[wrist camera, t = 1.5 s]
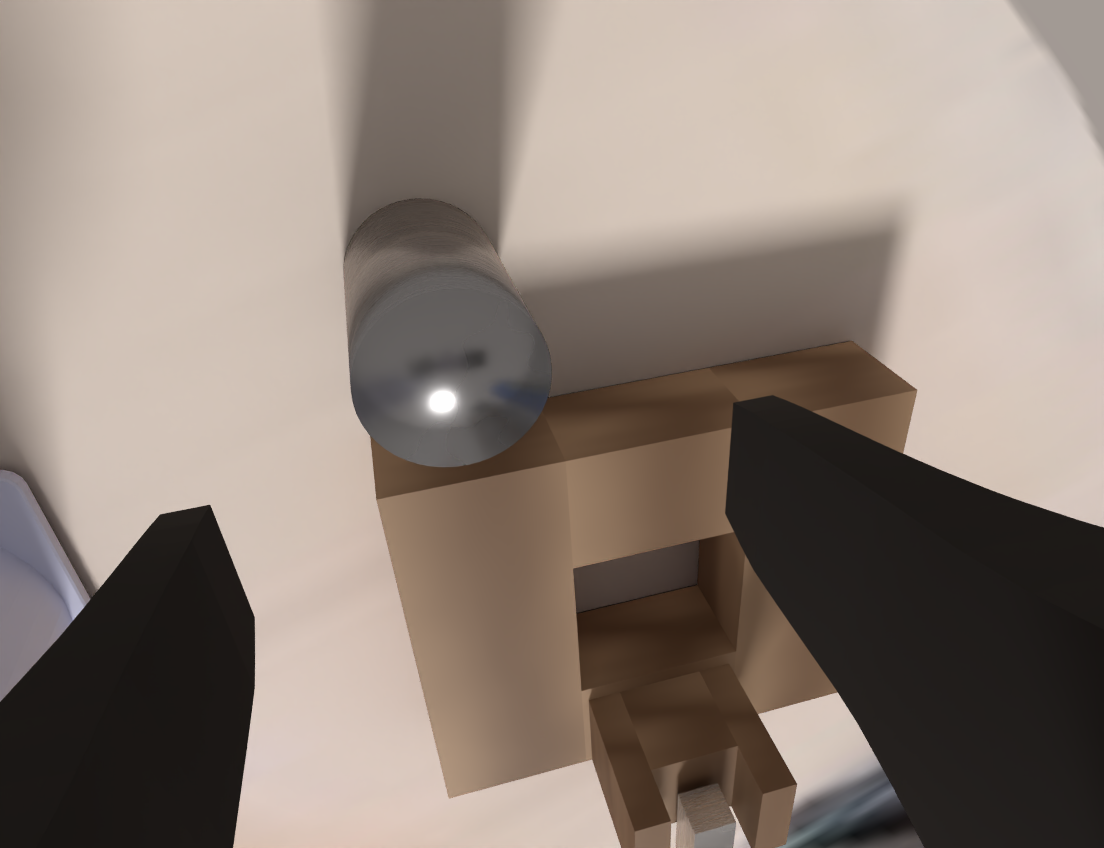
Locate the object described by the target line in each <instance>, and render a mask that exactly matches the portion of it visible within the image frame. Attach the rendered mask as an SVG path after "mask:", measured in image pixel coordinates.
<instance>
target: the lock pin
mask: <svg viewBox="0 0 1104 848" xmlns="http://www.w3.org/2000/svg"><path fill="white" fill-rule="evenodd" d="M735 827H736V821H735V819H734V817H733V815H732V812H731V810H730V808H729V806H728V804H727V802H726V800H725V798H724V795H723V793H722V791H721V789H720V787H719V785H718V783H714V784H711V785H707V786H704V787H700V788H697V789H694V790H690V791H687V792H683V793H680V794H678V804H677V828H676V848H733V844H734V836H735Z"/></svg>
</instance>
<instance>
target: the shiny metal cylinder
mask: <svg viewBox="0 0 1104 848" xmlns="http://www.w3.org/2000/svg"><path fill="white" fill-rule="evenodd" d="M344 289H345V305H346V321H347V337H348V352H349V368H350V384H351V394H352V400H353V404H354V407H355V411H356V414H357V416H358V418H359V420H360V422H361V424H362V425H363V426H364V428H365V429H366V431H367V432H368V434H369V435H370V436H371V437H372V438H373V439H374V440H375V441H376V442H377V443H378V444H380V445H381V446H382V447H383V448H385V449H386V450H387V451H389V452H391V453H392V454H394V455H396V456H398V457H400V458H402V459H404V460H407V461H410V462H413V463H416V464H420V465H426V466H432V467H457V466H464V465H469V464H473V463H477V462H480V461H483V460H486V459H489V458H491V457H493V456H495V455H497V454H499V453H501V452H503V451H504V450H506V449H507V448H509V447H511V446H512V445H513V444H514V443H516V442H517V441H518V440H519V439H521V438H522V437H523V436H524V435H525V434H526V433H527V432H528V431H529V430H530V428H531V427H532V426H533V424H534V423H535V422H536V420H537V419H538V417H539V415H540V414H541V412H542V410H543V408H544V406H545V403H546V401H547V398H548V395H549V391H550V386H551V379H552V365H551V358H550V354H549V350H548V347H547V344H546V342H545V340H544V338H543V336H542V333H541V332H540V330H539V328H538V326H537V325H536V323H535V321H534V319H533V317H532V316H531V314H530V312H529V310H528V308H527V307H526V305H525V303H524V301H523V300H522V298H521V296H520V294H519V292H518V291H517V289H516V287H515V285H514V283H513V282H512V280H511V278H510V276H509V274H508V273H507V271H506V269H505V267H504V266H503V264H502V262H501V260H500V258H499V257H498V255H497V253H496V251H495V249H494V248H493V246H492V244H491V242H490V241H489V239H488V237H487V235H486V234H485V232H484V231H483V229H482V228H481V227H480V226H479V225H478V223H477V222H476V221H475V220H474V219H472V218H471V217H470V216H469V215H468V214H466V213H465V212H463V211H462V210H460V209H459V208H456V207H454V206H452V205H450V204H447V203H444V202H441V201H437V200H431V199H409V200H404V201H399V202H396V203H393V204H390V205H388V206H386V207H384V208H382V209H380V210H378V211H377V212H376V213H374V214H373V215H371V216H370V217H369V218H368V219H367V220H366V221H365V222H363V224H362V225H361V226H360V227H359V228H358V230H357V231H356V233H355V234H354V236H353V237H352V239H351V241H350V244H349V246H348V248H347V252H346V255H345V260H344Z"/></svg>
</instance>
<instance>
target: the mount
mask: <svg viewBox="0 0 1104 848" xmlns="http://www.w3.org/2000/svg"><path fill="white" fill-rule="evenodd" d="M916 393H917V389H915V388H914V387H913V386H911V385H910V384H909V383H907V382H906V381H905V380H903V379H902V378H901V377H899V376H898V375H897V374H895V373H894V372H893V371H891V370H890V369H889V368H887V367H886V366H885V365H883V364H882V363H881V362H879V361H878V360H877V359H875V358H874V357H873V356H871V355H870V354H869V353H867V352H866V351H865V350H863V349H862V348H861V347H859V346H858V345H857V344H855V343H854V342H853V341H849V342H844V343H838V344H833V345H828V346H822V347H817V348H812V349H806V350H801V351H796V352H790V353H785V354H780V355H774V356H769V357H764V358H758V359H753V360H748V361H742V362H737V363H732V364H726V365H721V366H716V367H710V368H705V369H700V370H694V371H689V372H684V373H678V374H673V375H668V376H662V377H657V378H651V379H646V380H641V381H635V382H630V383H625V384H619V385H614V386H609V387H603V388H598V389H593V390H587V391H582V392H577V393H571V394H566V395H561V396H555V397H550V398H547V401H546V403H545V406H544V408H543V410H542V412H541V414H540V415H539V417H538V419H537V420H536V422H535V423H534V424H533V426H532V427H531V428H530V430H529V431H528V432H527V433H526V434H525V435H524V436H523V437H522V438H521V439H519V440H518V441H517V442H516V443H514V444H513V445H512V446H511V447H509V448H507V449H506V450H504V451H503V452H501V453H499V454H497V455H495V456H493V457H491V458H489V459H486V460H483V461H480V462H477V463H473V464H469V465H464V466H457V467H432V466H426V465H420V464H416V463H413V462H410V461H407V460H404V459H402V458H400V457H398V456H396V455H394V454H392V453H391V452H389V451H387V450H386V449H385V448H383V447H382V446H381V445H380V444H378V443H377V442H376V441H375V440H374V439H373V438H372V437H371V436H370V437H371V448H372V458H373V469H374V479H375V489H376V500H377V504H378V508H379V512H380V516H381V520H382V524H383V529H384V533H385V537H386V541H387V545H388V549H389V553H390V557H391V562H392V566H393V570H394V574H395V578H396V582H397V586H398V590H399V595H400V599H401V603H402V607H403V611H404V615H405V619H406V623H407V628H408V632H409V636H410V640H411V644H412V648H413V652H414V656H415V661H416V665H417V669H418V673H419V677H420V681H421V685H422V689H423V694H424V698H425V702H426V706H427V710H428V714H429V718H430V722H431V727H432V731H433V735H434V739H435V743H436V747H437V751H438V755H439V760H440V764H441V768H442V772H443V776H444V780H445V784H446V788H447V793H448V797H449V798H453V797H456V796H460V795H464V794H467V793H471V792H475V791H478V790H482V789H486V788H489V787H493V786H497V785H500V784H504V783H507V782H511V781H515V780H518V779H522V778H526V777H529V776H533V775H537V774H540V773H544V772H548V771H551V770H555V769H559V768H562V767H566V766H570V765H573V764H577V763H581V762H584V761H588V760H593V763H594V766H595V769H596V772H597V775H598V778H599V781H600V784H601V787H602V790H603V794H604V797H605V800H606V803H607V806H608V809H609V812H610V815H611V818H612V821H613V824H614V827H615V830H616V833H617V836H618V839H619V842H620V845H621V848H670V839H671V823H675V822H677V804H678V794H680V793H683V792H687V791H690V790H694V789H697V788H700V787H704V786H707V785H711V784H714V783H718V785H719V787H720V789H721V791H722V793H723V795H724V798H725V800H726V802H727V804H728V806H732V808H733V811H734V813H735V815H736V817H737V819H738V821H739V823H740V825H741V827H742V830H743V832H744V834H745V836H746V838H747V840H748V842H749V844H750V846H751V848H775V847H779V846H782V845H785V844H786V841H787V835H788V830H789V825H790V819H791V814H792V809H793V803H794V798H795V792H796V787H797V783H796V781H795V780H794V778H793V776H792V774H791V773H790V771H789V769H788V767H787V765H786V764H785V762H784V760H783V758H782V757H781V755H780V753H779V751H778V749H777V748H776V746H775V744H774V742H773V741H772V739H771V737H770V735H769V734H768V732H767V730H766V728H765V726H764V725H763V723H762V721H761V719H760V718H759V716H758V714H760V713H763V712H767V711H771V710H774V709H778V708H782V707H785V706H789V705H793V704H796V703H800V702H804V701H807V700H811V699H815V698H818V697H822V696H826V695H829V694H833V693H837V690H836V689H835V688H834V686H833V685H832V683H831V682H830V680H829V679H828V678H827V676H826V675H825V673H824V672H823V670H822V669H821V667H820V666H819V665H818V663H817V662H816V660H815V659H814V657H813V656H812V655H811V653H810V652H809V650H808V649H807V647H806V646H805V645H804V643H803V642H802V640H801V639H800V637H799V636H798V634H797V633H796V632H795V630H794V629H793V627H792V626H791V624H790V623H789V622H788V620H787V619H786V617H785V616H784V614H783V613H782V612H781V610H780V609H779V607H778V606H777V604H776V603H775V601H774V600H773V598H772V597H771V595H770V594H769V592H768V591H767V590H766V588H765V587H764V585H763V584H762V582H761V581H760V579H759V578H758V576H757V575H756V573H755V572H754V570H753V568H752V566H751V564H750V563H749V561H748V559H747V557H746V555H745V553H744V551H743V549H742V547H741V545H740V543H739V541H738V539H737V537H736V535H735V533H734V531H733V529H732V527H731V525H730V523H729V521H728V519H727V516H726V514H725V507H726V493H727V480H728V467H729V453H730V440H731V426H732V413H733V403H734V402H739V401H744V400H750V399H755V398H760V397H765V396H770V395H774V396H776V397H779V398H782V399H784V400H787V401H789V402H792V403H794V404H796V405H799V406H801V407H803V408H805V409H808V410H810V411H812V412H814V413H816V414H819V415H821V416H823V417H825V418H827V419H829V420H831V421H834V422H836V423H838V424H840V425H842V426H844V427H846V428H848V429H851V430H853V431H855V432H857V433H859V434H861V435H863V436H866V437H868V438H870V439H872V440H874V441H876V442H878V443H881V444H883V445H885V446H887V447H889V448H892V449H894V450H896V451H898V452H900V453H903V451H904V447H905V442H906V438H907V433H908V429H909V425H910V420H911V416H912V411H913V407H914V402H915V398H916ZM696 540H700V545H699V564H698V583H697V585H696V586H691V587H687V588H683V589H679V590H675V591H670V592H666V593H662V594H658V595H654V596H649V597H645V598H641V599H637V600H633V601H628V602H624V603H620V604H616V605H612V606H608V607H603V608H599V609H595V610H591V611H587V612H582V613H578V614H576V604H575V589H574V574H573V569H574V568H578V567H582V566H587V565H591V564H596V563H600V562H604V561H609V560H613V559H617V558H622V557H626V556H631V555H635V554H639V553H644V552H648V551H653V550H657V549H661V548H666V547H670V546H674V545H679V544H683V543H688V542H692V541H696Z"/></svg>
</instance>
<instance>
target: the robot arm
mask: <svg viewBox="0 0 1104 848" xmlns="http://www.w3.org/2000/svg"><path fill="white" fill-rule="evenodd" d="M725 514H726V516H727V519H728V521H729V523H730V525H731V527H732V529H733V531H734V533H735V535H736V537H737V539H738V541H739V543H740V545H741V547H742V549H743V551H744V553H745V555H746V557H747V559H748V561H749V563H750V564H751V566H752V568H753V570H754V572H755V573H756V575H757V576H758V578H759V579H760V581H761V582H762V584H763V585H764V587H765V588H766V590H767V591H768V592H769V594H770V595H771V597H772V598H773V600H774V601H775V603H776V604H777V606H778V607H779V609H780V610H781V612H782V613H783V614H784V616H785V617H786V619H787V620H788V622H789V623H790V624H791V626H792V627H793V629H794V630H795V632H796V633H797V634H798V636H799V637H800V639H801V640H802V642H803V643H804V645H805V646H806V647H807V649H808V650H809V652H810V653H811V655H812V656H813V657H814V659H815V660H816V662H817V663H818V665H819V666H820V667H821V669H822V670H823V672H824V673H825V675H826V676H827V678H828V679H829V680H830V682H831V683H832V685H833V686H834V688H835V689H836V690H837V692H838V693H839V695H840V696H841V698H842V700H843V701H844V703H845V704H846V706H847V707H848V709H849V711H850V712H851V714H852V715H853V717H854V718H855V720H856V722H857V723H858V725H859V727H860V729H861V730H862V732H863V734H864V736H865V738H866V739H867V741H868V743H869V745H870V747H871V748H872V750H873V752H874V754H875V756H876V757H877V759H878V761H879V763H880V765H881V766H882V768H883V770H884V772H885V774H886V775H887V777H888V779H889V781H890V783H891V784H892V786H893V788H894V790H895V792H896V794H897V796H898V798H899V800H900V802H901V803H902V805H903V807H904V809H905V811H906V813H907V815H908V817H909V819H910V821H911V823H912V825H913V826H914V828H915V830H916V832H917V834H918V836H919V838H920V840H921V842H922V844H923V846H924V848H1104V528H1103V527H1100V526H1096V525H1093V524H1089V523H1086V522H1083V521H1079V520H1076V519H1073V518H1070V517H1067V516H1064V515H1061V514H1058V513H1055V512H1052V511H1049V510H1046V509H1043V508H1040V507H1037V506H1034V505H1031V504H1028V503H1025V502H1022V501H1019V500H1016V499H1013V498H1011V497H1008V496H1005V495H1002V494H1000V493H997V492H994V491H992V490H989V489H986V488H984V487H981V486H979V485H976V484H974V483H971V482H969V481H966V480H964V479H962V478H959V477H957V476H954V475H952V474H949V473H947V472H944V471H942V470H939V469H937V468H935V467H932V466H930V465H928V464H925V463H923V462H921V461H918V460H916V459H914V458H912V457H909V456H907V455H905V454H903V453H900V452H898V451H896V450H894V449H892V448H889V447H887V446H885V445H883V444H881V443H878V442H876V441H874V440H872V439H870V438H868V437H866V436H863V435H861V434H859V433H857V432H855V431H853V430H851V429H848V428H846V427H844V426H842V425H840V424H838V423H836V422H834V421H831V420H829V419H827V418H825V417H823V416H821V415H819V414H816V413H814V412H812V411H810V410H808V409H805V408H803V407H801V406H799V405H796V404H794V403H792V402H789V401H787V400H784V399H782V398H779V397H776V396H774V395H770V396H765V397H760V398H755V399H750V400H744V401H739V402H734V403H733V413H732V426H731V440H730V453H729V467H728V480H727V493H726V507H725ZM254 689H255V617H254V614H253V612H252V609H251V607H250V604H249V602H248V599H247V597H246V594H245V592H244V589H243V587H242V584H241V582H240V579H239V577H238V574H237V571H236V569H235V566H234V564H233V561H232V559H231V556H230V554H229V551H228V549H227V546H226V544H225V541H224V539H223V536H222V534H221V531H220V529H219V526H218V523H217V521H216V518H215V516H214V513H213V511H212V508H211V506H210V505H206V506H201V507H196V508H191V509H186V510H181V511H176V512H171V513H166V514H160V515H159V516H158V518H157V519H156V520H155V521H154V522H153V523H152V524H151V526H150V527H149V528H148V529H147V530H146V532H145V533H144V534H143V535H142V537H141V538H140V539H139V540H138V541H137V543H136V544H135V545H134V546H133V548H132V549H131V550H130V551H129V553H128V554H127V555H126V556H125V558H124V559H123V560H122V561H121V563H120V564H119V565H118V566H117V568H116V569H115V570H114V571H113V573H112V574H111V575H110V576H109V578H108V579H107V580H106V581H105V583H104V584H103V585H102V586H101V587H100V589H99V590H98V591H97V592H96V593H95V595H94V596H93V597H92V598H91V599H90V597H89V595H88V594H87V592H86V590H85V588H84V586H83V584H82V583H81V581H80V579H79V577H78V575H77V574H76V572H75V570H74V568H73V566H72V565H71V563H70V561H69V559H68V557H67V555H66V554H65V552H64V550H63V548H62V546H61V545H60V543H59V541H58V539H57V537H56V535H55V534H54V532H53V530H52V528H51V526H50V525H49V523H48V521H47V519H46V517H45V515H44V514H43V512H42V510H41V508H40V506H39V505H38V503H37V501H36V499H35V497H34V496H33V494H32V492H31V490H30V488H29V486H28V485H27V483H26V482H25V481H24V479H23V478H22V477H21V476H19V475H17V474H16V473H14V472H11V471H6V470H0V848H233V844H234V837H235V830H236V822H237V815H238V808H239V801H240V794H241V786H242V779H243V772H244V765H245V758H246V750H247V743H248V736H249V728H250V720H251V713H252V705H253V697H254Z"/></svg>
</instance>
